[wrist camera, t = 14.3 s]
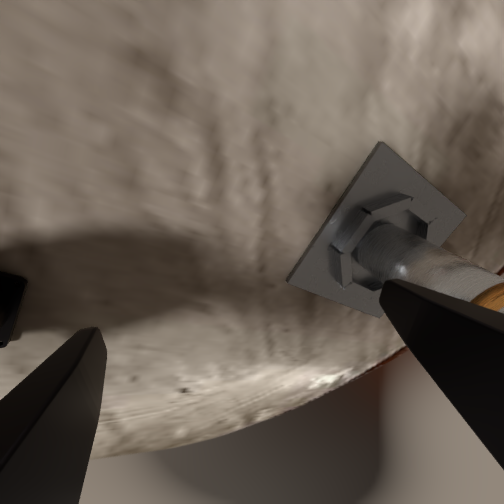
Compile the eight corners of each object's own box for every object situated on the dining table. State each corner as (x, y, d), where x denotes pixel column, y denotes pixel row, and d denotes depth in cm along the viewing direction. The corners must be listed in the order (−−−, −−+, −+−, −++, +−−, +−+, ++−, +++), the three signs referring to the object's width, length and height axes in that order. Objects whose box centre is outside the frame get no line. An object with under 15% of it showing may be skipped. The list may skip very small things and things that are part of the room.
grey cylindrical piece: (367, 279, 27) (488, 381, 16) (348, 247, 24) (477, 343, 14) (409, 248, 26) (560, 333, 16) (394, 211, 24) (563, 284, 13)
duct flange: (376, 315, 31) (386, 325, 29) (285, 280, 25) (292, 290, 23) (462, 213, 27) (478, 219, 25) (378, 141, 21) (393, 143, 19)
